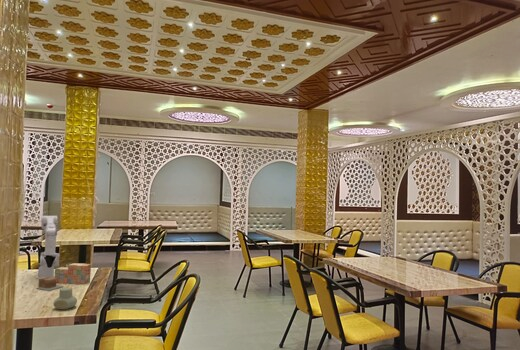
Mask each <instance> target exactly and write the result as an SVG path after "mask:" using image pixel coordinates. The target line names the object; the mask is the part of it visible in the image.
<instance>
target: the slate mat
mask: <svg viewBox="0 0 520 350" xmlns="http://www.w3.org/2000/svg"><path fill="white" fill-rule="evenodd" d="M61 288H64V285H57V284H56V287H52V288H43V287H38V286H37V287H35V289H36V290H41V291H46V292H51V291H54V290H58V289H59V290H60V289H61Z"/></svg>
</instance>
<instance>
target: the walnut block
mask: <svg viewBox="0 0 520 350" xmlns="http://www.w3.org/2000/svg"><path fill="white" fill-rule="evenodd" d="M37 283H38V286H37V288H38V287H43V288H52V287H56V285H57V283H56V278H49V277H44V278H39V279H38V282H37Z"/></svg>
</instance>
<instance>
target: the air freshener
mask: <svg viewBox="0 0 520 350" xmlns="http://www.w3.org/2000/svg"><path fill="white" fill-rule="evenodd" d="M58 295H59V296H58V297H57V298H55V300H54V301H53V306H54V308H56V309H58V310H60V311H62V310H63V311H65V310H69V309H72V308H73V307H74V306H77V303H78V300H77V297H75V296H74V295H73V288H72V287H62V288H59V293H58Z"/></svg>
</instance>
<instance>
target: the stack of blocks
mask: <svg viewBox="0 0 520 350" xmlns="http://www.w3.org/2000/svg"><path fill="white" fill-rule="evenodd" d="M67 265H68V267H66V266H65V267H64V266H61V267H57V268H54V277H55V278H56V284H70V285H71V284H72V285H87V284H89V283H91V270H92V267H91V266H92V264H91V263H75V262H73V263H70V265H69V264H67Z"/></svg>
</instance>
